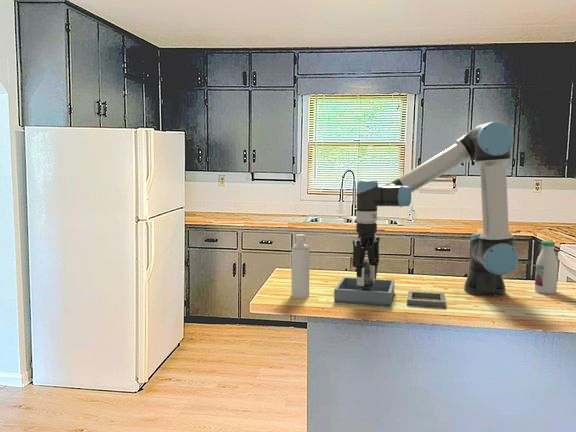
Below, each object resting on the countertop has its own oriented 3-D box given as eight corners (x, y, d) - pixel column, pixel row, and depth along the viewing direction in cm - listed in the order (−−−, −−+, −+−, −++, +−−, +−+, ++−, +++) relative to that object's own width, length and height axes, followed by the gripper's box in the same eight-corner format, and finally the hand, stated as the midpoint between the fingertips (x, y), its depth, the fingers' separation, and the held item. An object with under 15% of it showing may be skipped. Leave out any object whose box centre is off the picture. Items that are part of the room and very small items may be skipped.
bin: (394, 292, 207) (394, 280, 206) (390, 306, 187) (390, 292, 187) (342, 289, 212) (343, 277, 211) (334, 302, 192) (334, 289, 192)
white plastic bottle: (297, 292, 206) (298, 228, 204) (312, 295, 203) (312, 230, 200) (287, 296, 201) (288, 230, 198) (302, 299, 197) (303, 232, 194)
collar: (444, 298, 199) (444, 293, 198) (445, 308, 186) (445, 302, 186) (408, 296, 202) (408, 290, 202) (407, 305, 189) (407, 299, 189)
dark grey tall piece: (376, 291, 200) (377, 259, 198) (367, 294, 195) (368, 261, 194) (363, 288, 203) (363, 257, 202) (354, 291, 199) (355, 259, 198)
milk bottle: (556, 290, 210) (559, 240, 208) (556, 295, 203) (559, 243, 201) (534, 288, 214) (537, 239, 211) (534, 293, 207) (537, 242, 204)
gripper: (359, 225, 187) (358, 290, 190) (389, 220, 200) (388, 281, 203) (342, 223, 192) (341, 286, 195) (373, 219, 206) (372, 278, 208)
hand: (365, 283), depth 199 cm, fingers closed on dark grey tall piece, 6 cm apart
